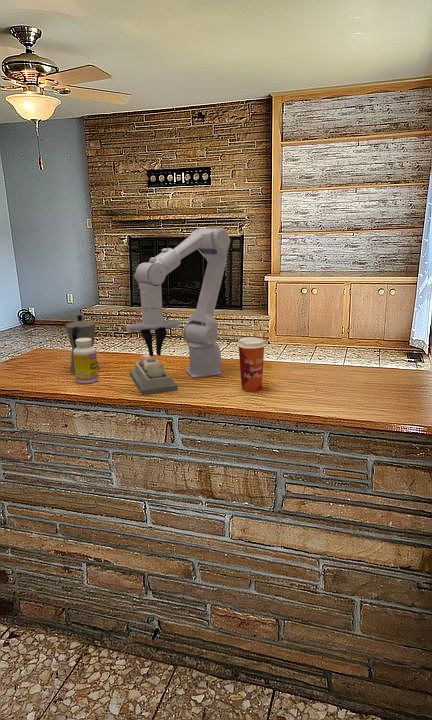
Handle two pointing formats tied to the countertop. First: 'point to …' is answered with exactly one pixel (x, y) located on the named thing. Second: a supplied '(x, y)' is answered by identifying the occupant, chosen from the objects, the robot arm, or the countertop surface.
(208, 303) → the robot arm
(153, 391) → the button board
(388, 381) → the countertop surface
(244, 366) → the paper cup
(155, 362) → the ivory button
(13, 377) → the countertop surface
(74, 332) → the coffeepot
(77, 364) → the supplement bottle
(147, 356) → the terracotta button
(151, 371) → the sage button
